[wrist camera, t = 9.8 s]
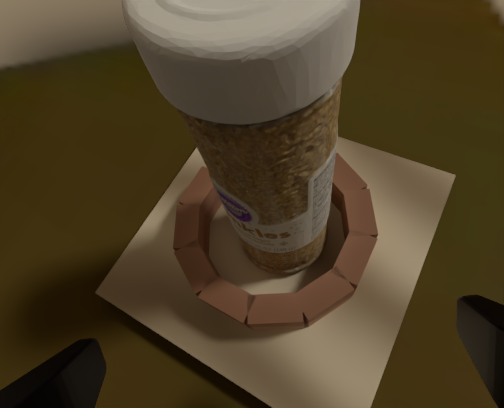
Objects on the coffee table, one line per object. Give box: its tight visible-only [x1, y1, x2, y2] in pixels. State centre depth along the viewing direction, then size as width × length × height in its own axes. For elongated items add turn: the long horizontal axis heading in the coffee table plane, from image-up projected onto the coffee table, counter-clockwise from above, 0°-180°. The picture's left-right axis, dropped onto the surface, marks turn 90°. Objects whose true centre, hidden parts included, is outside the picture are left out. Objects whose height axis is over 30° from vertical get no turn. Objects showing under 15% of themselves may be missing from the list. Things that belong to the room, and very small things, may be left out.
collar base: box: [95, 137, 456, 408], centre depth 18 cm, size 14×14×3 cm
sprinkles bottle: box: [122, 0, 360, 274], centre depth 12 cm, size 5×5×14 cm
